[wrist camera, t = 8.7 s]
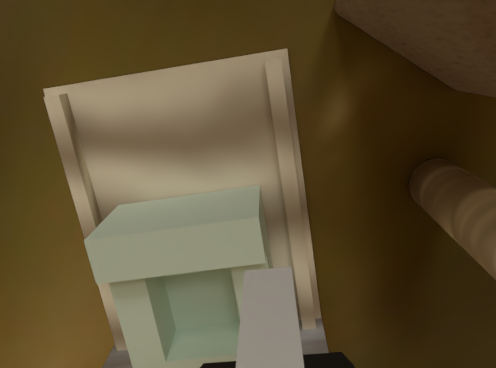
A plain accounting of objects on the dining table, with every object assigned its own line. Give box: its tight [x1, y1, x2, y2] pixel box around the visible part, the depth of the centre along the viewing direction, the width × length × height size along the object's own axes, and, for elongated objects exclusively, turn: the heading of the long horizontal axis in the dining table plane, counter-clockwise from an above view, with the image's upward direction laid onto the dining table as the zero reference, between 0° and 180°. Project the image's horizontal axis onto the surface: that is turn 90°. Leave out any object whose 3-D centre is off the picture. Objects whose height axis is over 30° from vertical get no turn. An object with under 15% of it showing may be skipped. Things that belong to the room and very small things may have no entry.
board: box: [43, 49, 329, 368], centre depth 29 cm, size 21×16×5 cm
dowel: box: [408, 158, 496, 280], centre depth 23 cm, size 4×4×14 cm
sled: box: [84, 185, 273, 368], centre depth 28 cm, size 11×10×6 cm
